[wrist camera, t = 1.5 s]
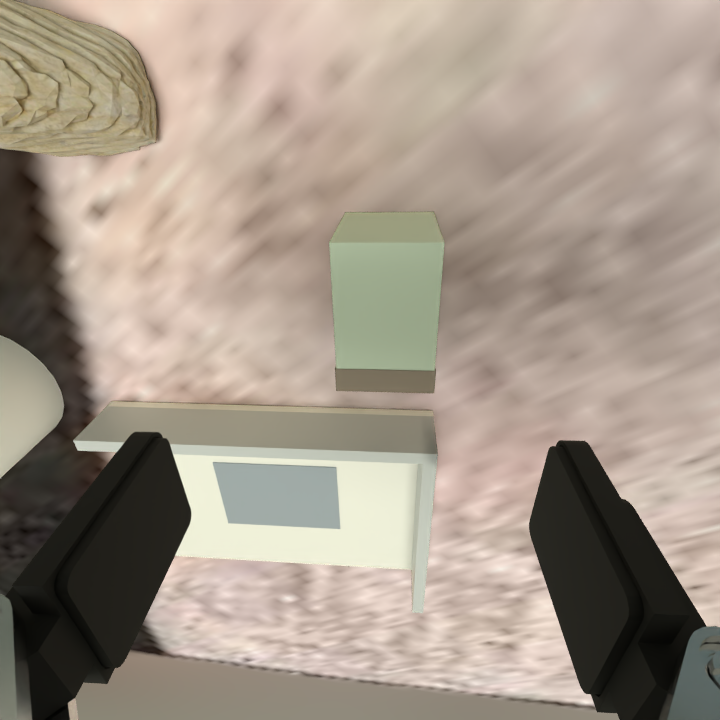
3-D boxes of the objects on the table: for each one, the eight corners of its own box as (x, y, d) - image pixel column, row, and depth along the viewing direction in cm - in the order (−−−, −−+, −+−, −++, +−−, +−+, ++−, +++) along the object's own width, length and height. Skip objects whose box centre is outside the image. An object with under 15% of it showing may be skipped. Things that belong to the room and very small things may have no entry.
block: (434, 211, 22) (445, 243, 17) (426, 334, 25) (434, 393, 20) (344, 212, 22) (327, 243, 17) (349, 333, 26) (336, 390, 20)
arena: (432, 410, 28) (437, 454, 24) (420, 563, 36) (423, 612, 32) (112, 401, 30) (73, 440, 26) (168, 549, 38) (145, 594, 34)
